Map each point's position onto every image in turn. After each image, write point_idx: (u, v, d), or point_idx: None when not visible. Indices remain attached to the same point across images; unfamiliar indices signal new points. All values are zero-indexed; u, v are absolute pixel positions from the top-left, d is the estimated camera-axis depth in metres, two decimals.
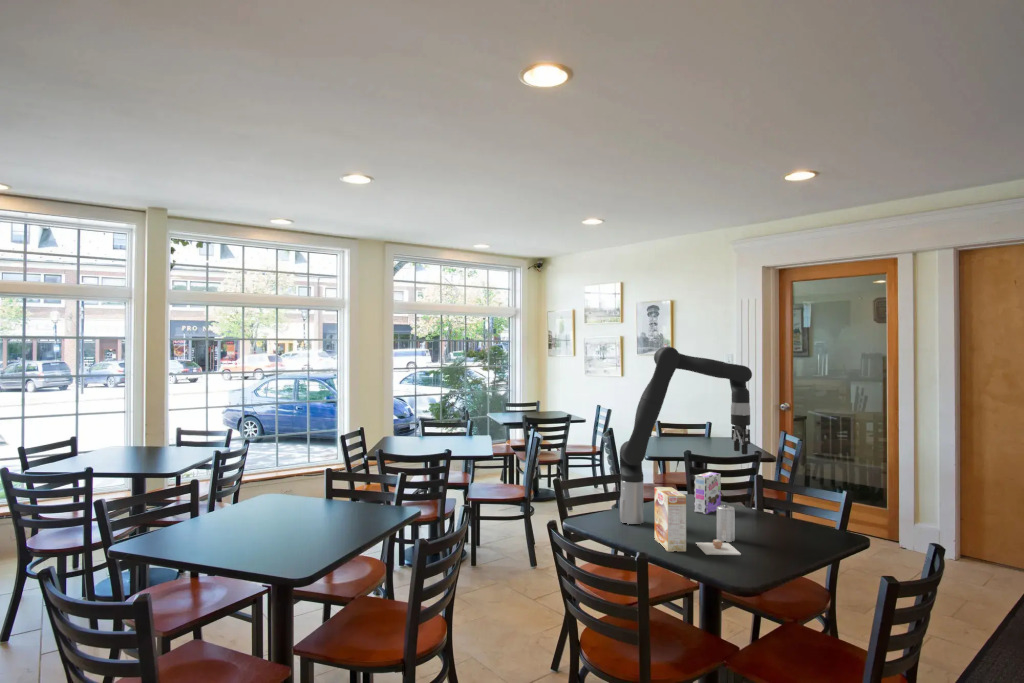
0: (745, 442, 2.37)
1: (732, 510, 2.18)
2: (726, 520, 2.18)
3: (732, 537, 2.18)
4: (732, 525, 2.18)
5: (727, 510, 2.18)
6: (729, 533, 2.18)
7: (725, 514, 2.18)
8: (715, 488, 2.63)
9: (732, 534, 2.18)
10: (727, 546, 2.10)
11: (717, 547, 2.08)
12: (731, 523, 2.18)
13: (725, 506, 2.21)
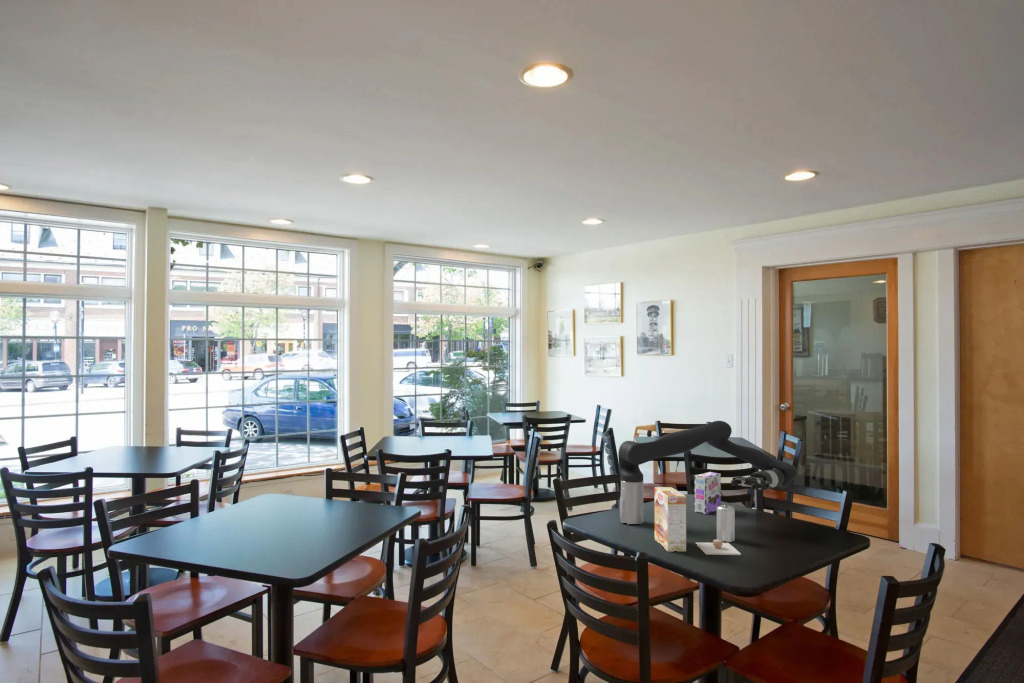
0: (766, 484, 2.26)
1: (732, 510, 2.18)
2: (726, 520, 2.18)
3: (732, 537, 2.18)
4: (732, 525, 2.18)
5: (727, 510, 2.18)
6: (729, 533, 2.18)
7: (725, 514, 2.18)
8: (715, 488, 2.63)
9: (732, 534, 2.18)
10: (727, 546, 2.10)
11: (717, 547, 2.08)
12: (731, 523, 2.18)
13: (725, 506, 2.21)
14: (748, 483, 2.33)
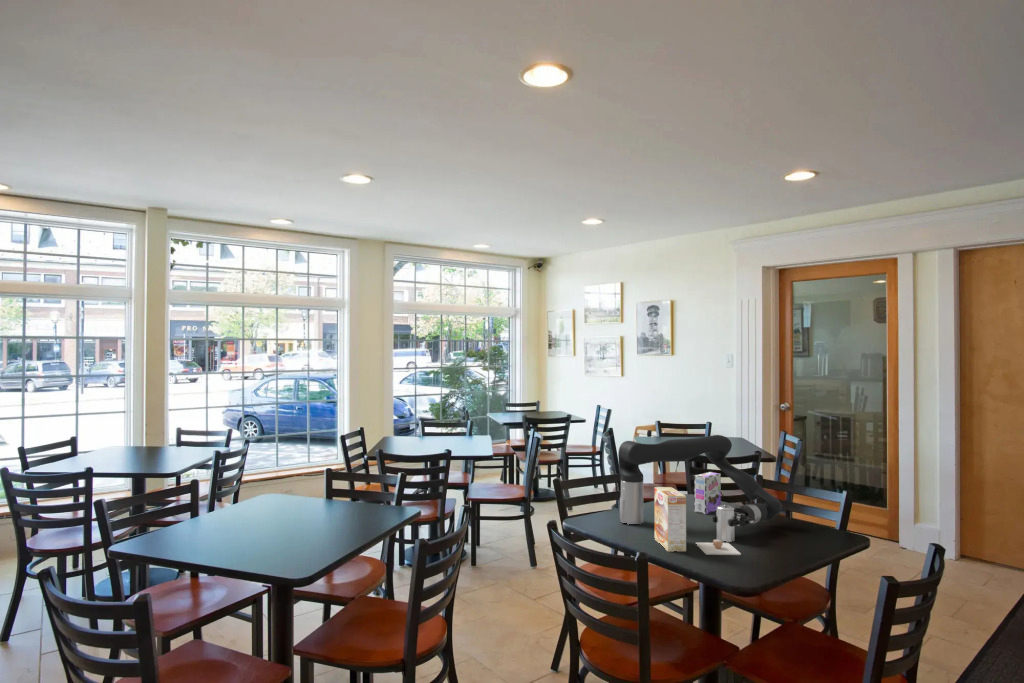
0: (744, 521, 2.18)
1: (732, 510, 2.18)
2: (726, 520, 2.18)
3: (732, 537, 2.18)
4: None
5: (727, 510, 2.18)
6: (729, 533, 2.18)
7: (725, 514, 2.18)
8: (715, 488, 2.63)
9: (732, 534, 2.18)
10: (727, 546, 2.10)
11: (717, 547, 2.08)
12: None
13: (725, 506, 2.21)
14: None
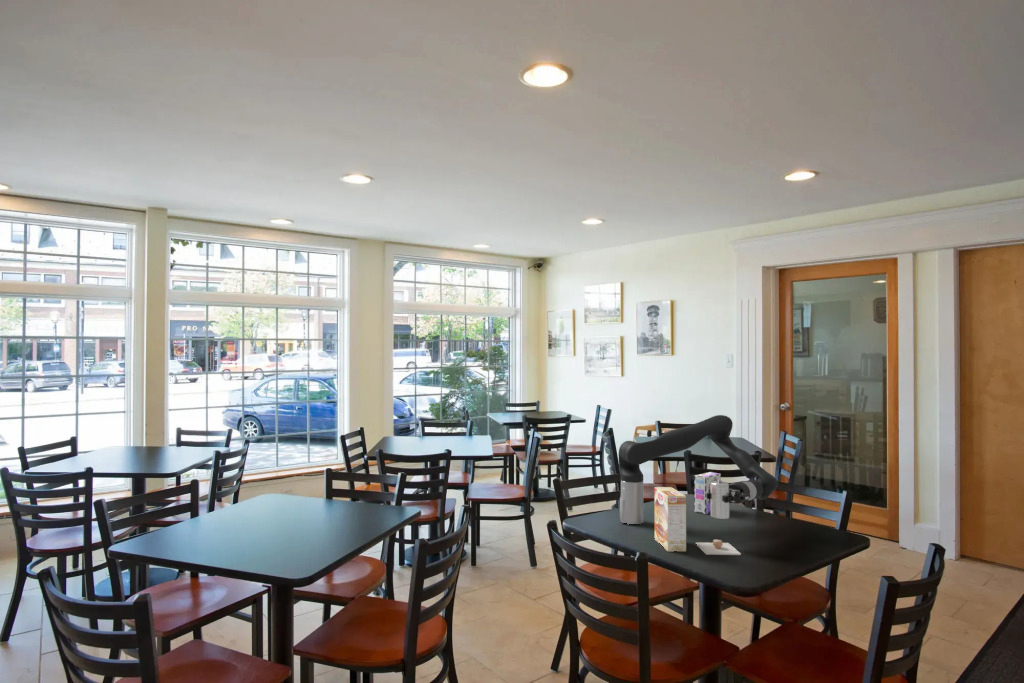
0: (739, 497, 2.09)
1: (727, 486, 2.10)
2: (720, 496, 2.09)
3: (727, 514, 2.09)
4: None
5: (721, 486, 2.09)
6: (723, 509, 2.09)
7: (719, 490, 2.09)
8: None
9: (727, 511, 2.09)
10: (727, 546, 2.10)
11: (717, 547, 2.08)
12: None
13: (719, 482, 2.12)
14: None
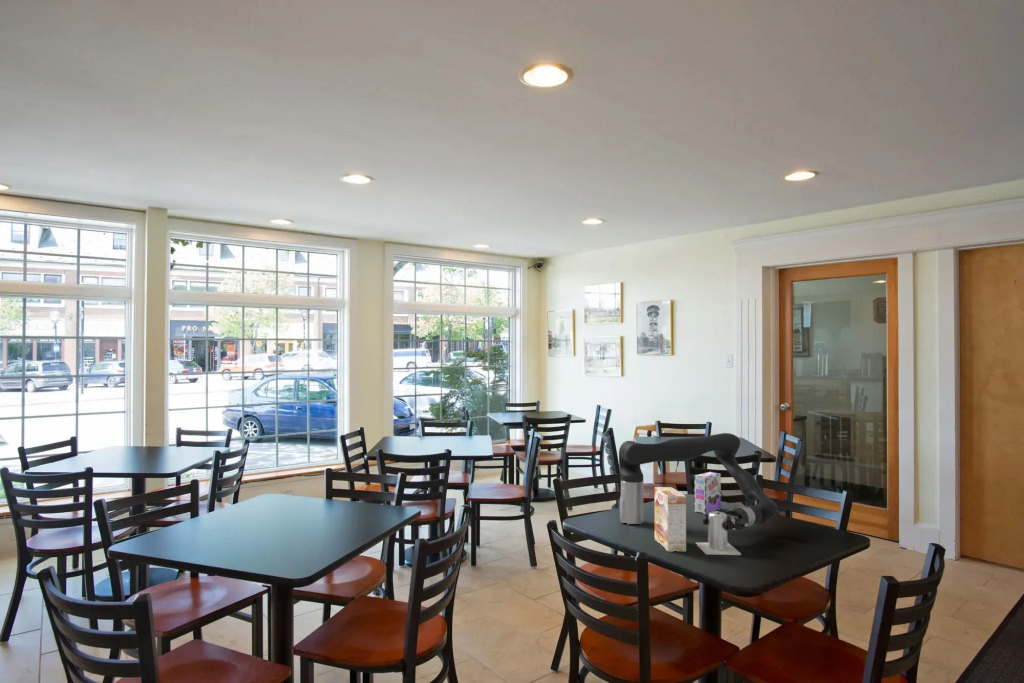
0: (740, 524, 2.06)
1: (725, 517, 2.07)
2: (718, 528, 2.06)
3: (725, 545, 2.06)
4: (725, 533, 2.06)
5: (719, 517, 2.06)
6: (721, 541, 2.06)
7: (717, 521, 2.06)
8: (715, 488, 2.63)
9: (725, 542, 2.06)
10: (727, 546, 2.10)
11: None
12: (724, 531, 2.06)
13: (717, 513, 2.09)
14: None
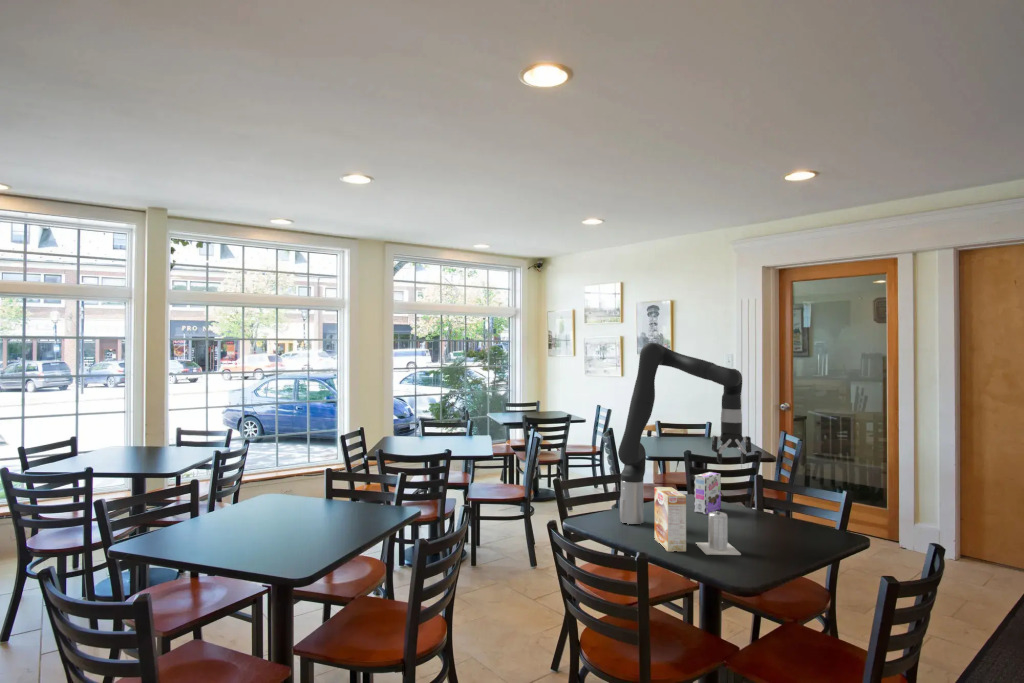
0: None
1: (725, 517, 2.07)
2: (718, 528, 2.06)
3: (725, 545, 2.06)
4: (725, 533, 2.06)
5: (719, 517, 2.06)
6: (721, 541, 2.06)
7: (717, 521, 2.06)
8: (715, 488, 2.63)
9: (725, 542, 2.06)
10: (727, 546, 2.10)
11: None
12: (724, 531, 2.06)
13: (717, 513, 2.09)
14: None
